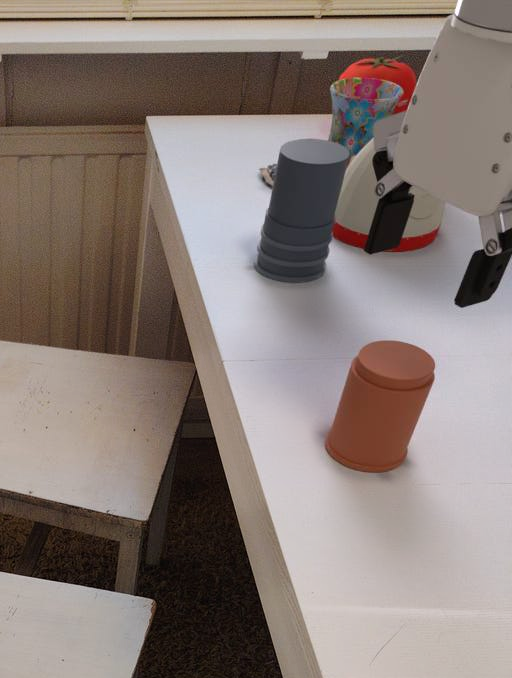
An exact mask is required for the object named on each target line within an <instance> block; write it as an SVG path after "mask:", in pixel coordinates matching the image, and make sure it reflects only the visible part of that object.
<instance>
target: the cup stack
mask: <svg viewBox="0 0 512 678" xmlns="http://www.w3.org/2000/svg"><path fill="white" fill-rule="evenodd" d="M349 156H350V152H349V150H348V149H347V148H346V147H344V146H342V145H340V144H338V143H335V142H331V141H328V140H327V139H320V138H301V139H300V138H299V139H293V140H290V141H287V142H285V143H283V144H282V145H281V146H280V148H279V152H278V157H277V163H276V164H277V168H276V173H275V178H274V183H273V188H272V187H271V188H272V189H271V195H270V200H269V205H268V207H267V208H266V211H265V217H264V222H263V224H262V226H261V227H260V239H259V240H258V242H257V247H256V249H257V254H256V255H255V257H254V261H253V266H254V267H253V268H255V270H256V272H258V273H259V274H260V275H262V276H263V277H266V278H268V279H271V280H274V281H277V282H282V283H295V284H296V283H306V282H311V281H314V280H317V279H319V278H320V277H322V276H323V275H324V273H325V272H326V268H327V263H326V260H327V259H328V257H329V255H330V244H331V243H332V240H333V238H334V236H333V232H332V230H333V226H334V222H335V218H336V217H335V211H336V207H337V203H338V199H339V195H340V191H341V187H342V183H343V179H344V175H345V172H346V168H347V164H348V160H349Z"/></svg>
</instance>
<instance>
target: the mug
mask: <svg viewBox="0 0 512 678" xmlns="http://www.w3.org/2000/svg"><path fill="white" fill-rule="evenodd" d="M329 90H330V96H331V108H332V109H331V111H332V115H331V116H332V117H331V126H330V132H329V136H328V140H327V141H331V142H335V143H338V144H340V145H342V146H344V147H346V148H347V149H348V150H349V152H350V156H349V160H348V164H347V168H348V166H349V163H350V160H351V158H352V157H353V156H356V155H357V154H358V153H359V152H360V151H361V150H362V148H363V147H364V146H365V145H366V144H367V143H368V142H369V141H370V140H371V139H373V138H374V133H373V128H374V124H375V122H376V121H377V120H379V119H381V118H385V117H388V116H391V115H392V114H393V112H394V109H395V105H398V106H402V105H405V104H406V103H407V101H408V100H404V101H401V102H399V103H398V101H399V100H400V98H401V97H402V95H403V89H402V88H401V87H400V86H399V85H397V84H395V83H393V82H390V81H386V80H381V79H375V78H347V79H342V80H339V79H338V80H336V81H334V82H333V83H332V84H331V85H330V89H329ZM397 103H398V104H397ZM347 168H346V169H347Z"/></svg>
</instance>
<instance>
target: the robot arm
mask: <svg viewBox="0 0 512 678" xmlns="http://www.w3.org/2000/svg"><path fill="white" fill-rule="evenodd" d="M373 133H374V151H375V150H376V153H375V154H374V156H373V160H372V163H373V168H374V171H375V175H376V179H377V183H376V185H375V188H374V193H375V196H376V197H377V198H379V201H378V204H377V207H376V211H375V214H374V217H373V221H372V224H371V227H370V231H369V234H368V237H367V241H366V244H365V247H364V249H363V251H364V253H366V254H368V255H374V254H379V253H382V252H387V251H386V250H390V249H394V248H397V247H398V246H399V245H400V242H401V239H402V236H403V233H404V230H405V227H406V224H407V221H408V218H409V215H410V212H411V209H412V206H413V203H414V197H415V195H414V194H412V193H409V191H410V190H411V189H412V188H413V187H416V188H418V189H420V190H422V191H424V192H426V193H428V194H430V195H432V196H434V197H436V198H438V199H440V200H442V201H445V203H446V204H449V205H451V206H453V207H455V208H456V209H459V210H461V211H463V212H465V213H468V214H470V215H472V216H476V217H478V223H479V230H480V235H481V242H482V246H483V248H481V249H477V250H474V252H473V253H472V255H471V257H470V259H469V262H468V265H467V267H466V269H465V272H464V275H463V277H462V279H461V282H460V284H459V286H458V288H457V291H456V295H455V297H454V305H455V306H457V307H459V308H461V309H463V308H467V307H470V306H473V305H477V304H480V303H484V302H487V301H489V300H490V299H491V298H492V296H493V295H494V294H495V293H496V292H497V290H498V288H499V286H500V284H501V282H502V279H503V277H504V274H505V272H506V270H507V267H508V266H509V263H510V260H511V258H512V0H457V2H456V5H455V7H454V12H453V14H450V15H448V16H446V18H445V21H444V22H443V24H442V26H441V28H440V31H438V34H437V36H436V38H435V41H434V43H433V45H432V47H431V49H430V51H429V54H428V55H427V57H426V61H425V63H424V65H423V68H422V70H421V72H420V75H419V77H418V79H417V81H416V87H415V90H414V93H413V95H412V98H411V101H410V104H409V106H408V109H407V110H406V111H403V112H400V113H397V114H394V115H391V116H388V117H385V118H382V119H379V120H377V121H376V122H375V124H374V128H373ZM501 215H502V218H501ZM501 219H502V220H501ZM502 221H503V225H502ZM503 227H504V230H503Z"/></svg>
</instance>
